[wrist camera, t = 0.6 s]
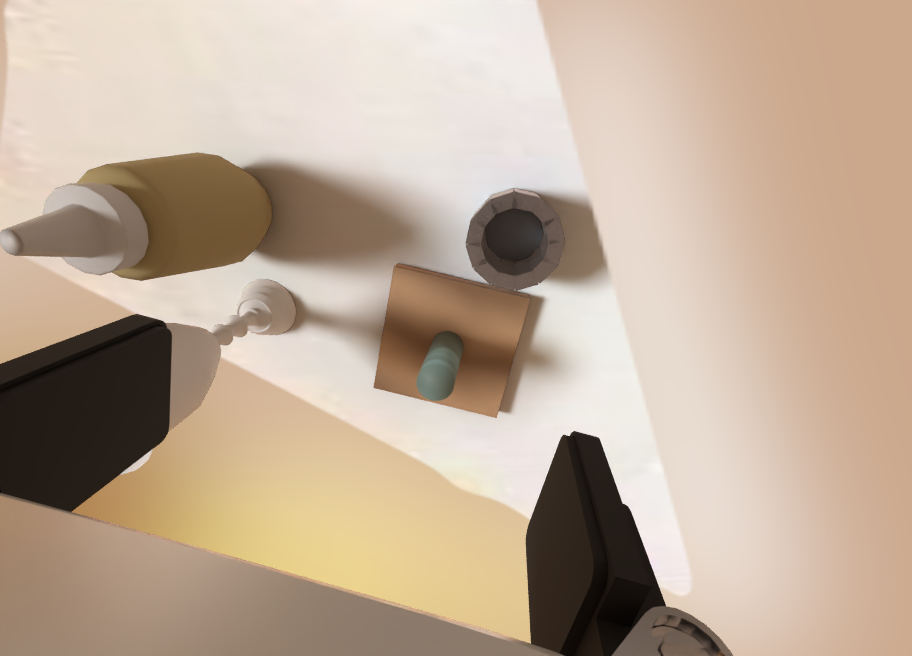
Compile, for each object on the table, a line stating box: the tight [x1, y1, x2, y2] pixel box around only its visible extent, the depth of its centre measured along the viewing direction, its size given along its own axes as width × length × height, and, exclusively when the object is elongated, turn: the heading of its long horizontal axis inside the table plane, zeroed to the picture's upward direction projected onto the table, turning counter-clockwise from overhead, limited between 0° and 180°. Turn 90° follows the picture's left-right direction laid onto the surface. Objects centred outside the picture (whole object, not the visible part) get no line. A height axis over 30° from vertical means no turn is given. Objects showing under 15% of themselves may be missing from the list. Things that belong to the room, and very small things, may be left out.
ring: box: [466, 188, 565, 291], centre depth 33 cm, size 6×6×5 cm
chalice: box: [120, 279, 296, 475], centre depth 31 cm, size 7×7×18 cm
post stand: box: [374, 264, 530, 418], centre depth 35 cm, size 11×11×8 cm
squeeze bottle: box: [0, 153, 272, 281], centre depth 28 cm, size 8×8×18 cm
